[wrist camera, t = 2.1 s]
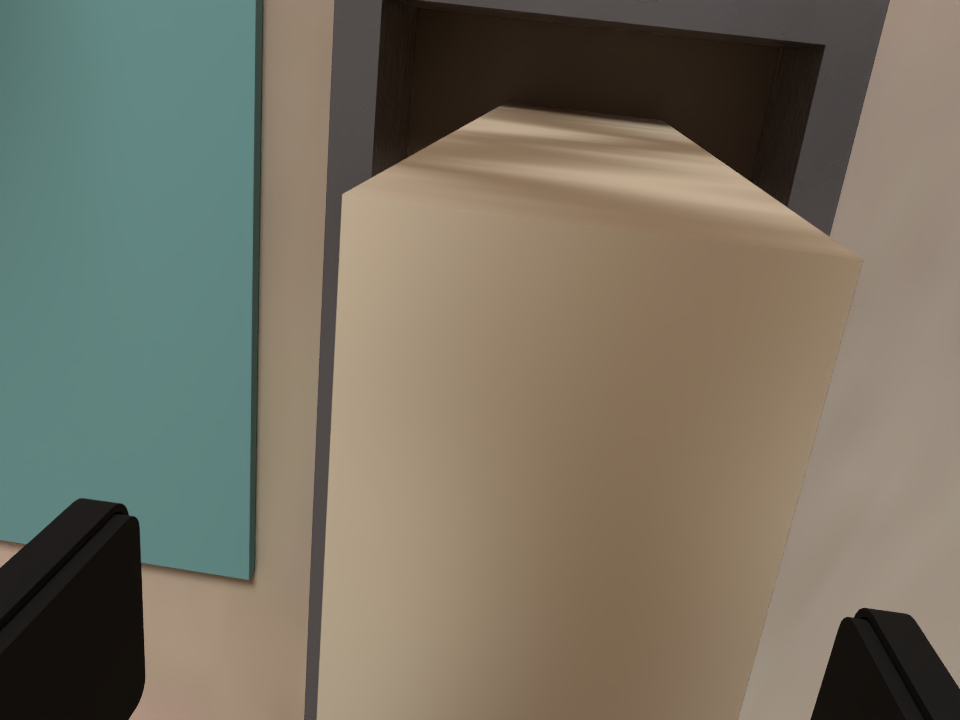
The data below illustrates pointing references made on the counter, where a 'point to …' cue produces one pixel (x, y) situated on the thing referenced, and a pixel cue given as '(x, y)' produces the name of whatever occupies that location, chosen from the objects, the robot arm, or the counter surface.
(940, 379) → the counter surface
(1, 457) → the mat
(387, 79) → the bracket
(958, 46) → the counter surface
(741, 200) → the wooden block
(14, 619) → the robot arm
